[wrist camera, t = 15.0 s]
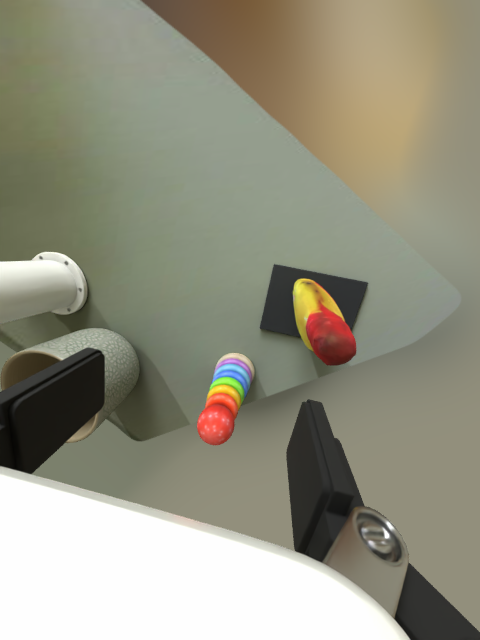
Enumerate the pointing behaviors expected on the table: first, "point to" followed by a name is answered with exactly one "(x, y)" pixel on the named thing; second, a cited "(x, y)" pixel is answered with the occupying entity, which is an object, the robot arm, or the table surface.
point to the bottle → (322, 323)
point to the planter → (37, 358)
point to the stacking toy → (225, 398)
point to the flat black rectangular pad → (281, 298)
